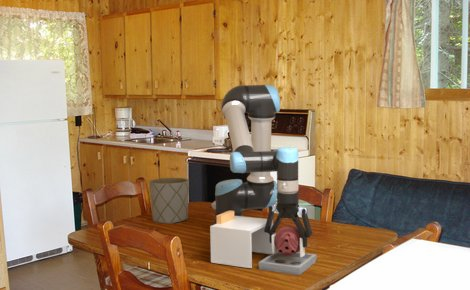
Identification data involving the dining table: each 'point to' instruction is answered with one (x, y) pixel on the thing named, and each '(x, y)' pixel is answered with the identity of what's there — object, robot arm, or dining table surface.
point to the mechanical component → (288, 240)
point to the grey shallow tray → (288, 263)
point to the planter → (169, 199)
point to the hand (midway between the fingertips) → (288, 254)
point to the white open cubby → (238, 239)
